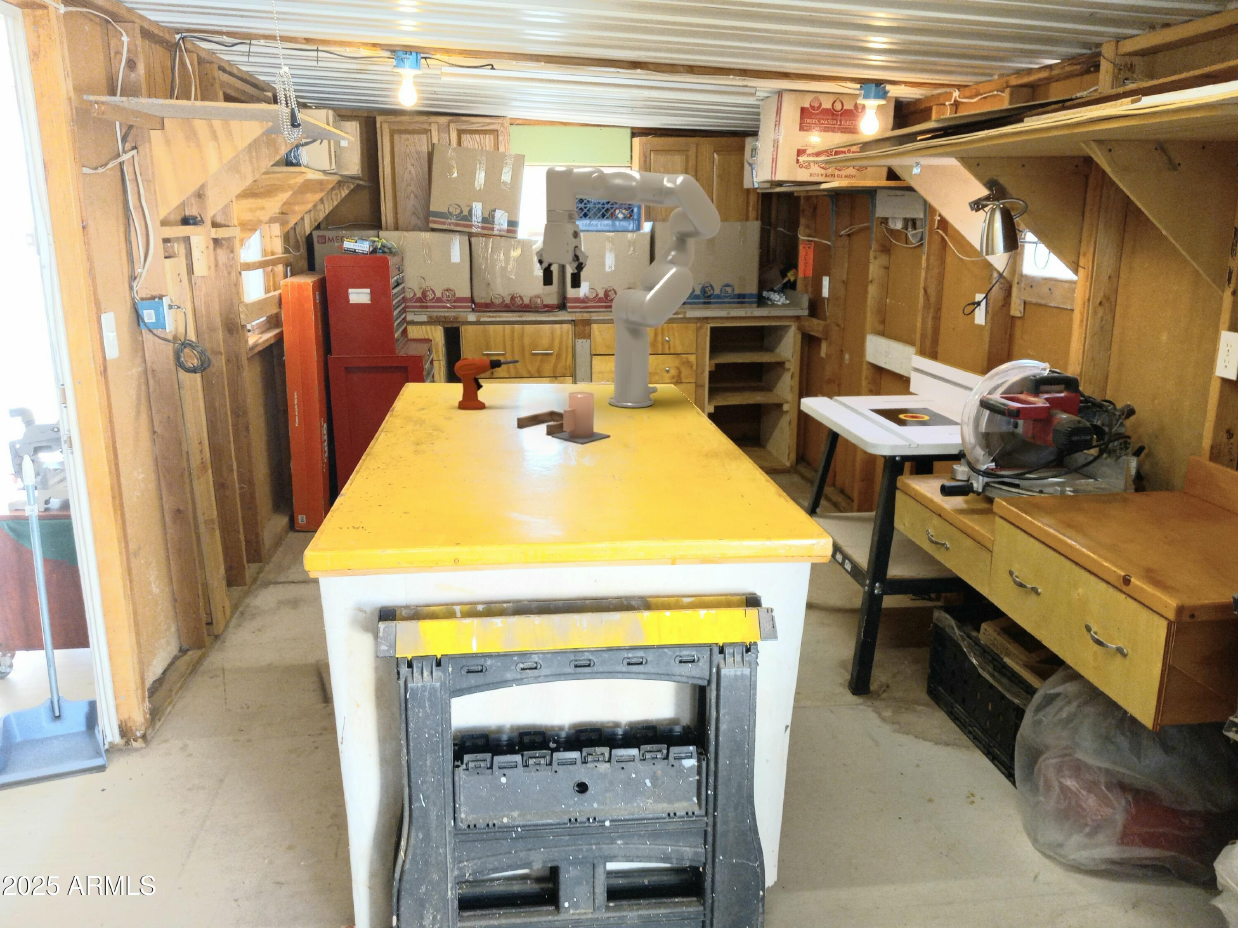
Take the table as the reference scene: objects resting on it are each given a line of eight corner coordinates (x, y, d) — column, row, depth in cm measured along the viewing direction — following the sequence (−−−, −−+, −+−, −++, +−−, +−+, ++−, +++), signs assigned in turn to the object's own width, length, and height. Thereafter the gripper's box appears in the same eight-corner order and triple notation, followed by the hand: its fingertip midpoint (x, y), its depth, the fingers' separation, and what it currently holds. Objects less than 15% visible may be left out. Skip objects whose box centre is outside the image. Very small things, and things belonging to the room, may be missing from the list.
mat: (579, 430, 227) (579, 428, 227) (610, 436, 221) (610, 435, 221) (551, 437, 220) (551, 435, 220) (582, 444, 214) (582, 442, 214)
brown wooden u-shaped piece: (552, 419, 237) (552, 410, 237) (584, 427, 230) (584, 417, 230) (517, 427, 228) (517, 418, 228) (549, 435, 221) (549, 425, 221)
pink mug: (580, 431, 225) (580, 390, 222) (598, 435, 221) (599, 394, 218) (556, 437, 218) (556, 395, 216) (574, 441, 215) (574, 399, 212)
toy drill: (525, 404, 248) (517, 352, 244) (458, 413, 247) (449, 360, 243) (524, 400, 253) (517, 349, 248) (459, 409, 251) (450, 357, 247)
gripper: (597, 218, 229) (596, 288, 234) (546, 217, 240) (547, 284, 245) (576, 219, 224) (576, 290, 228) (526, 217, 234) (527, 285, 239)
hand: (561, 287), depth 236 cm, fingers open, 9 cm apart
